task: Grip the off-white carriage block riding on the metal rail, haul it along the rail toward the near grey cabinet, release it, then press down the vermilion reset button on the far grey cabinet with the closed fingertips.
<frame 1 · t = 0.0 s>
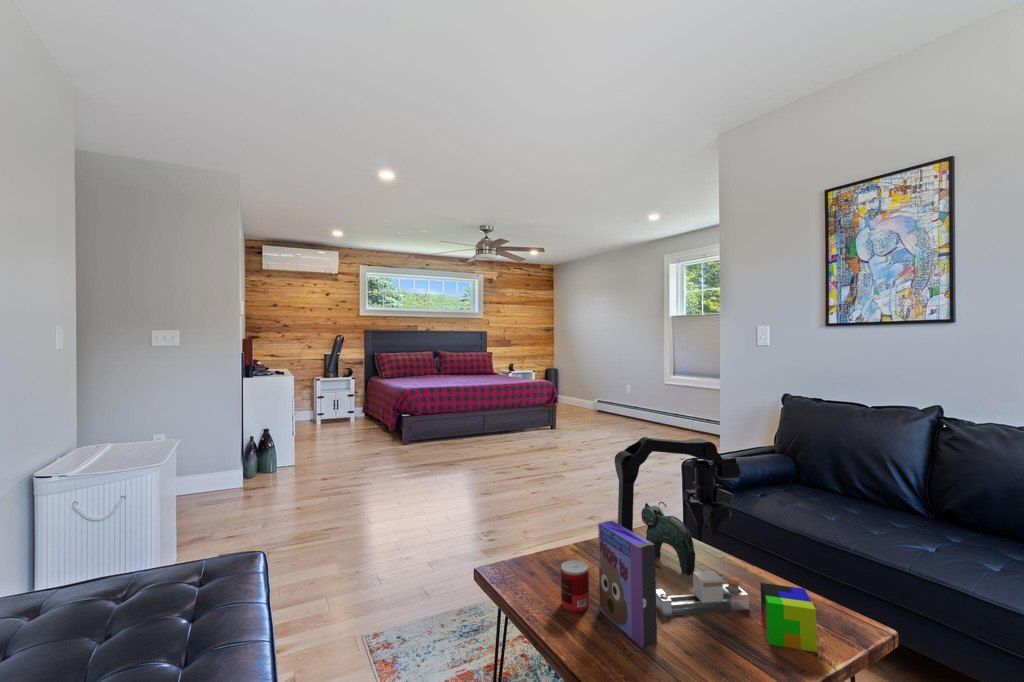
hand: (706, 530, 145), 15 cm above the table, fingers open, 9 cm apart
canned food: (575, 606, 130), on the table
reset button: (733, 588, 130), point 4 cm above the table, slide at 0.0 cm
puzzle toy: (787, 636, 115), on the table
rail: (696, 606, 128), on the table
ceramic cat: (669, 564, 155), on the table
carriage: (708, 586, 129), point 5 cm above the table, slide at 0.0 cm
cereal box: (626, 626, 120), on the table
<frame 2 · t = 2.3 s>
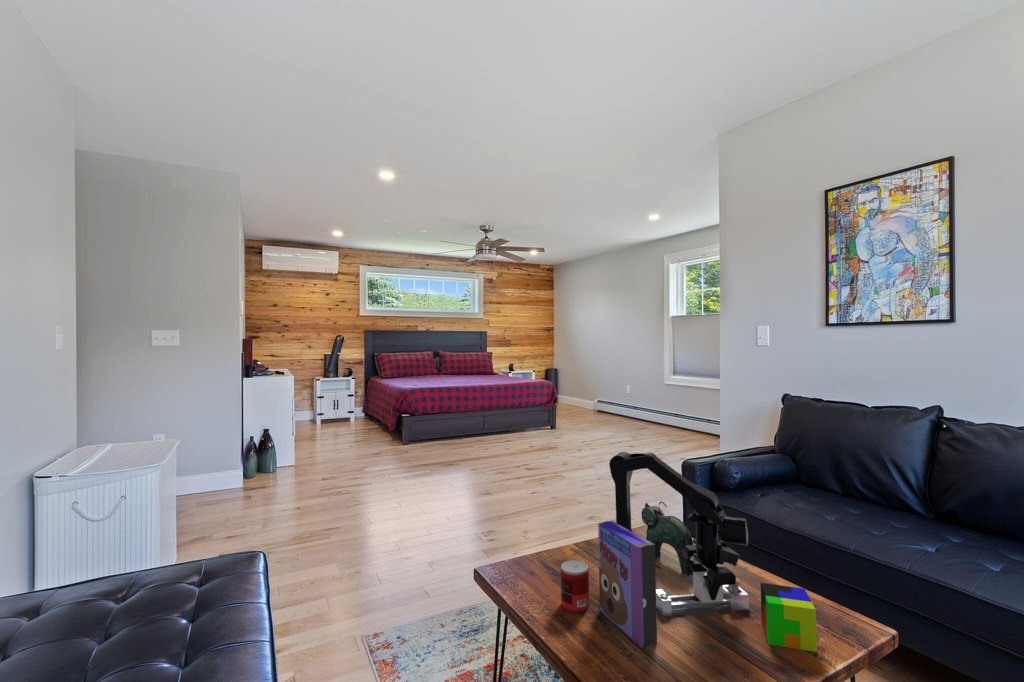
hand: (708, 594, 129), 3 cm above the table, fingers closed on carriage, 5 cm apart
carriage: (708, 586, 129), point 5 cm above the table, slide at 0.0 cm, touching gripper
everything else where it was.
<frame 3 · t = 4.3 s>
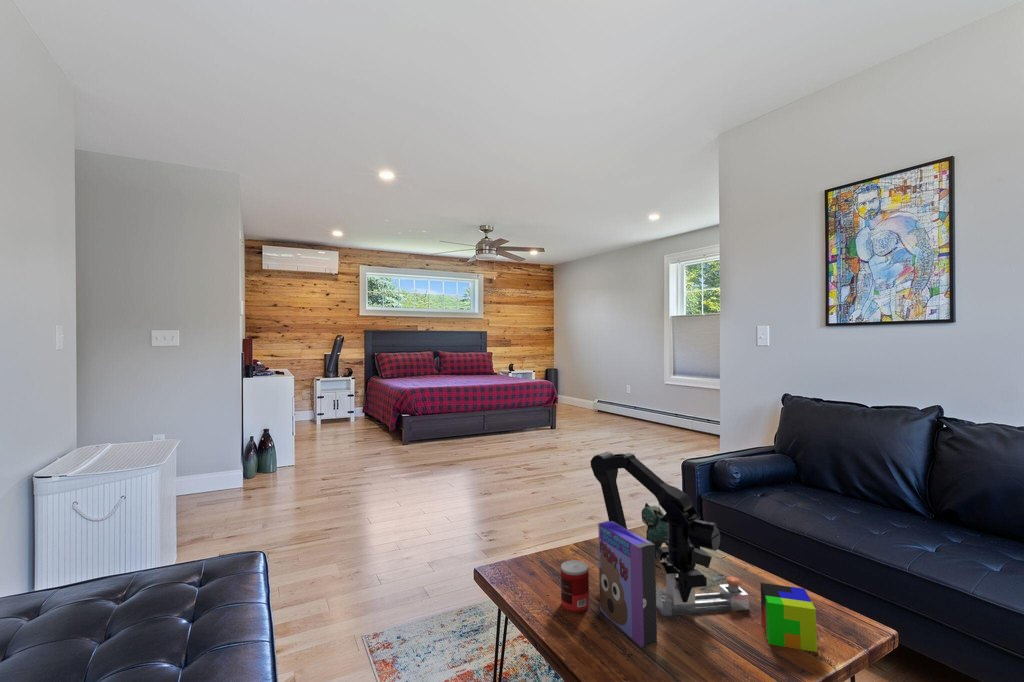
hand: (680, 596, 128), 3 cm above the table, fingers closed on carriage, 5 cm apart
carriage: (680, 588, 128), point 5 cm above the table, slide at 8.0 cm, touching gripper
everything else where it was.
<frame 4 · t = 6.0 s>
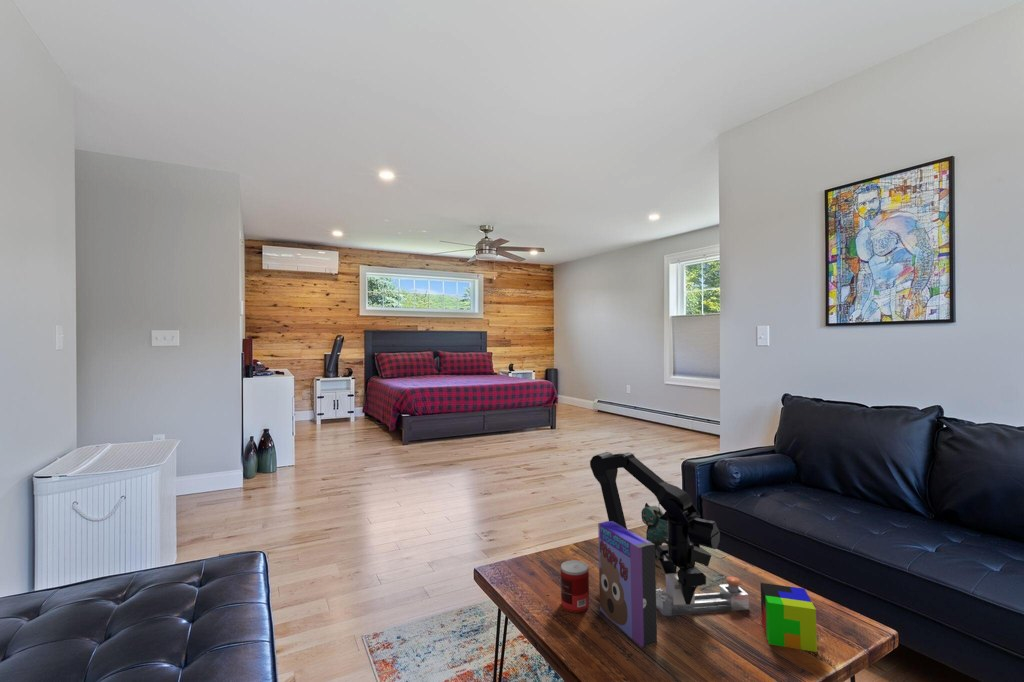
hand: (679, 595, 128), 4 cm above the table, fingers open, 9 cm apart
carriage: (680, 588, 128), point 5 cm above the table, slide at 8.1 cm
everything else where it was.
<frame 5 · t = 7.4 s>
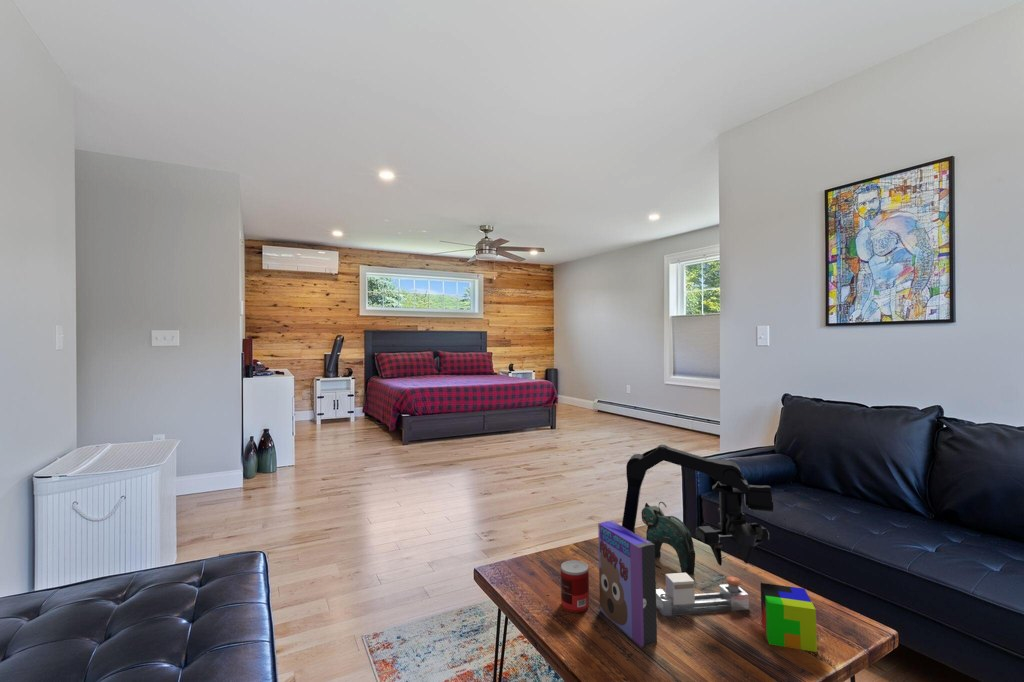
hand: (732, 564, 130), 11 cm above the table, fingers open, 7 cm apart
nothing on the table moved.
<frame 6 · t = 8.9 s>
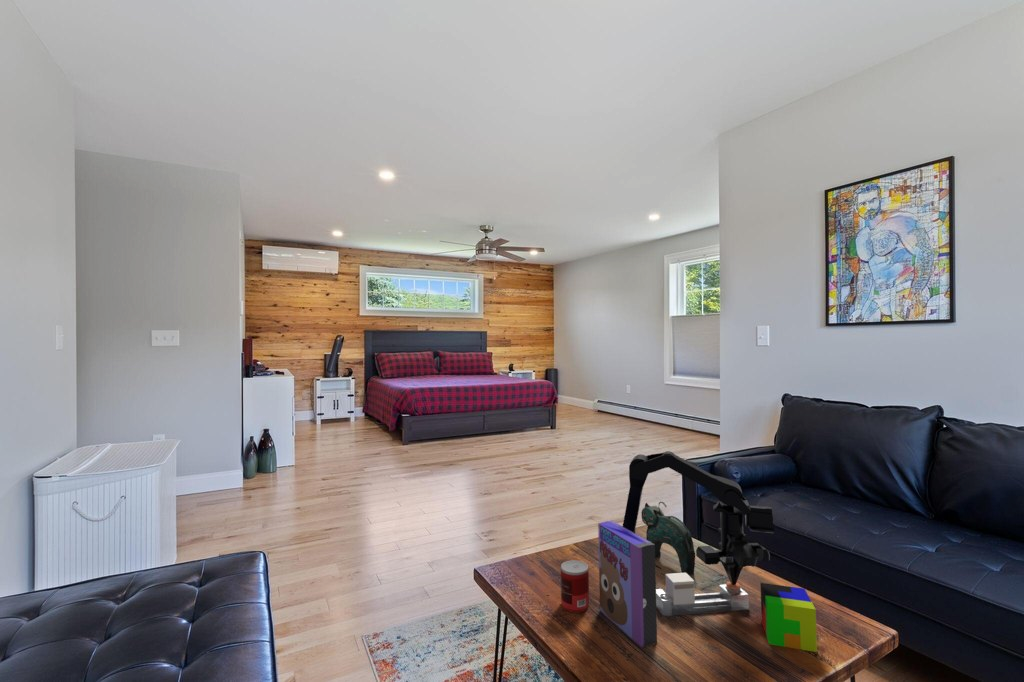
hand: (733, 584, 130), 6 cm above the table, fingers closed, pressing on reset button
reset button: (733, 592, 130), point 3 cm above the table, slide at 1.3 cm, touching gripper
everything else where it was.
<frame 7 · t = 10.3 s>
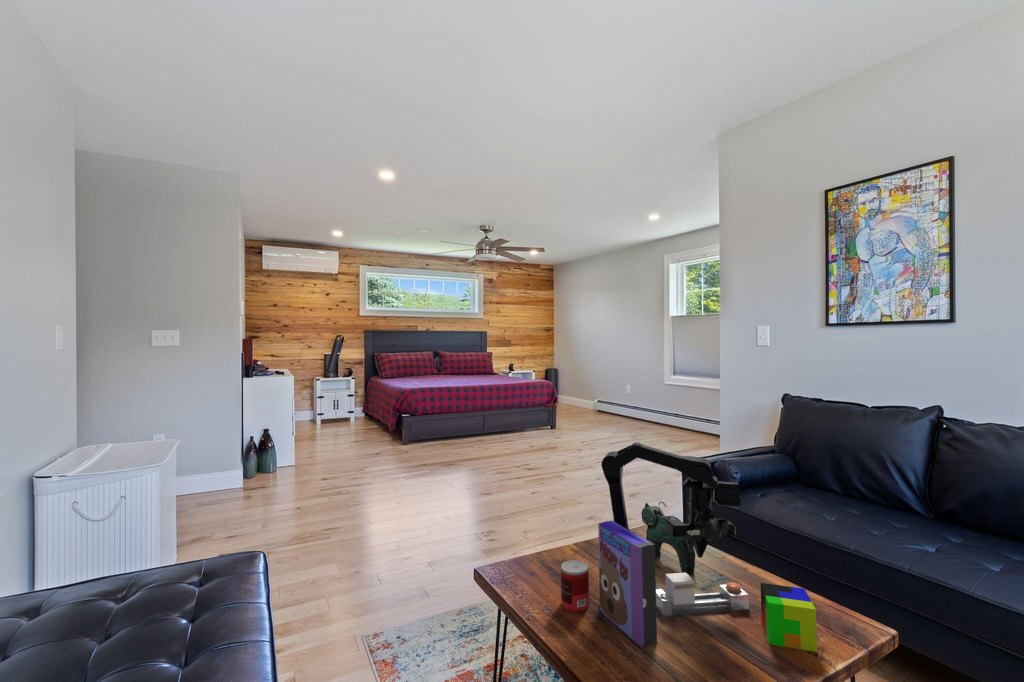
hand: (699, 557, 134), 11 cm above the table, fingers closed
reset button: (733, 594, 130), point 3 cm above the table, slide at 1.6 cm
everything else where it was.
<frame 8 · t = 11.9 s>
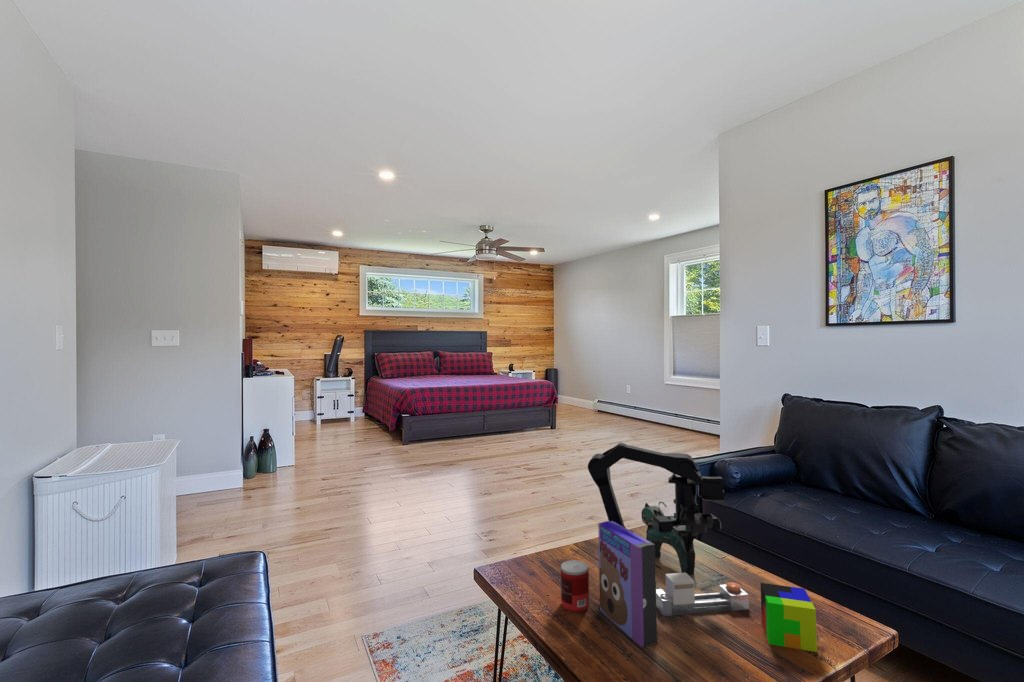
hand: (686, 552, 136), 12 cm above the table, fingers closed
nothing on the table moved.
at the end: carriage slide at 8.1 cm; reset button slide at 1.6 cm; the gripper is holding nothing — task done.
